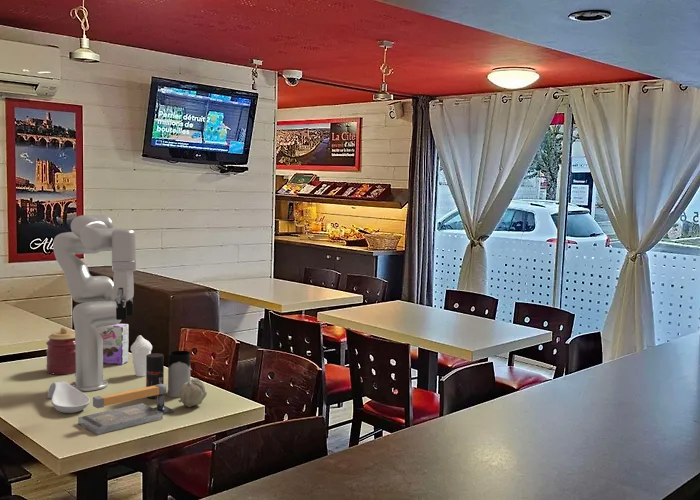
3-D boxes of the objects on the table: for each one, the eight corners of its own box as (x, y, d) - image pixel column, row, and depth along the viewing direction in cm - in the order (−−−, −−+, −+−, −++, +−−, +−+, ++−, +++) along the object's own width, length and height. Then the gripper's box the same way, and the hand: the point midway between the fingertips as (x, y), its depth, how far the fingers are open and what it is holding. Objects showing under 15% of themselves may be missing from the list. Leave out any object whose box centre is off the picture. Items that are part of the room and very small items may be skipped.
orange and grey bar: (92, 405, 211) (92, 397, 211) (162, 390, 228) (162, 382, 228) (97, 408, 208) (97, 399, 208) (168, 393, 226) (168, 385, 226)
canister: (73, 375, 266) (73, 331, 264) (40, 374, 266) (39, 330, 264) (86, 367, 279) (86, 324, 277) (55, 366, 279) (54, 323, 277)
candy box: (91, 362, 285) (91, 324, 284) (99, 359, 291) (98, 321, 290) (122, 365, 283) (122, 326, 282) (129, 361, 289) (129, 323, 287)
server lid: (78, 423, 213) (78, 416, 213) (142, 408, 229) (142, 402, 228) (97, 434, 204) (97, 427, 204) (162, 418, 220) (162, 411, 219)
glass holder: (166, 397, 242) (166, 356, 240) (168, 386, 256) (168, 346, 254) (191, 396, 244) (191, 355, 242) (192, 385, 257) (192, 346, 256)
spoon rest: (95, 412, 225) (95, 391, 224) (59, 419, 217) (58, 397, 216) (70, 395, 242) (69, 375, 242) (35, 401, 234) (35, 380, 234)
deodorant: (158, 399, 239) (158, 357, 238) (143, 398, 240) (143, 356, 239) (166, 394, 245) (166, 354, 243) (151, 393, 246) (151, 352, 245)
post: (147, 411, 226) (147, 393, 226) (163, 407, 231) (164, 389, 230) (157, 416, 222) (157, 397, 222) (173, 412, 226) (173, 394, 226)
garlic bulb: (206, 402, 238) (206, 374, 237) (206, 410, 230) (207, 381, 229) (178, 403, 236) (178, 375, 235) (177, 411, 228) (178, 381, 227)
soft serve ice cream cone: (156, 374, 270) (156, 335, 269) (140, 379, 263) (140, 338, 262) (142, 371, 275) (142, 332, 273) (125, 375, 268) (125, 335, 266)
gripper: (118, 264, 235) (119, 313, 236) (105, 268, 218) (106, 321, 219) (141, 264, 236) (141, 313, 237) (129, 268, 218) (130, 321, 219)
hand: (125, 317), depth 228 cm, fingers open, 9 cm apart
